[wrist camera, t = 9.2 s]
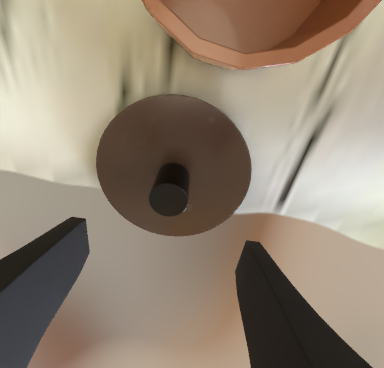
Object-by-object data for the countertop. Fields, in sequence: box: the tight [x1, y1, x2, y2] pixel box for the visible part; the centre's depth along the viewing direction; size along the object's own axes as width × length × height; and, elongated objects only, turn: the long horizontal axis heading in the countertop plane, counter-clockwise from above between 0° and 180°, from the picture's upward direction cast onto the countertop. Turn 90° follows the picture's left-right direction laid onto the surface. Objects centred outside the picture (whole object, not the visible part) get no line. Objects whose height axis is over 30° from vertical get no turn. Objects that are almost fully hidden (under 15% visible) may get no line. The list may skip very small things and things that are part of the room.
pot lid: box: [96, 94, 251, 236], centre depth 16 cm, size 12×12×4 cm
